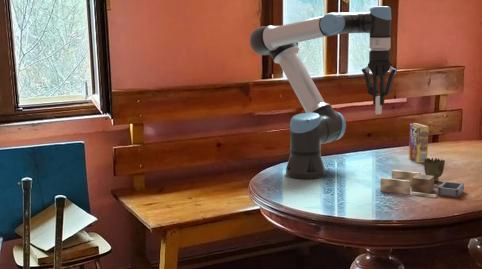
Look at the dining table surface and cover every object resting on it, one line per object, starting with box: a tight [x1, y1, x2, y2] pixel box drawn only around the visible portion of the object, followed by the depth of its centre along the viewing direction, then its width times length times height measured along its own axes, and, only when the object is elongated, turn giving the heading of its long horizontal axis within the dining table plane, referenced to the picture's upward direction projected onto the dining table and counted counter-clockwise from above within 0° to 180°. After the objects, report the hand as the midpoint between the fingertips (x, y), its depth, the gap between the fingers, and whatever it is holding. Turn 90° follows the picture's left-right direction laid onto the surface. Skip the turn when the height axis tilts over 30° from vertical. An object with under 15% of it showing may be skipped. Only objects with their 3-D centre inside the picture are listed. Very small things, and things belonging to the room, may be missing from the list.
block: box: [411, 173, 435, 194], centre depth 217 cm, size 6×6×5 cm
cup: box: [423, 157, 446, 183], centre depth 228 cm, size 8×7×8 cm
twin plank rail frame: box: [379, 169, 441, 199], centre depth 219 cm, size 19×14×4 cm
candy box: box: [408, 122, 430, 164], centre depth 260 cm, size 9×4×15 cm, turn 13°
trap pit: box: [437, 181, 465, 199], centre depth 213 cm, size 6×9×3 cm
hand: (378, 113), depth 231 cm, fingers closed
